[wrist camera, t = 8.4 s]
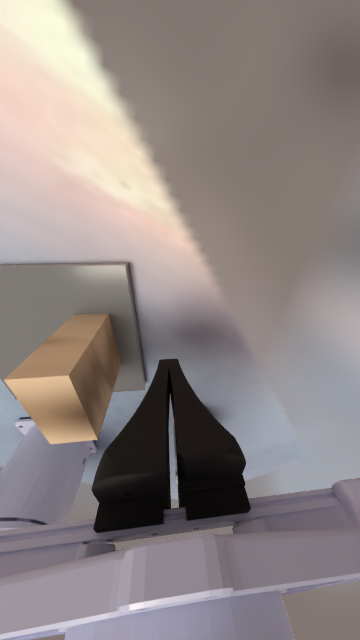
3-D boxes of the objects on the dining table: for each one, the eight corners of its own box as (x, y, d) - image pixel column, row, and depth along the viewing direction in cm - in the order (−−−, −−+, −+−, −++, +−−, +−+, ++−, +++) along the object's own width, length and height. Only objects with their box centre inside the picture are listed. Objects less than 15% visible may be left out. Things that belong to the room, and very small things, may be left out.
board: (145, 381, 20) (144, 389, 19) (24, 390, 19) (16, 399, 18) (128, 262, 14) (125, 265, 13) (-60, 265, 13) (-80, 269, 12)
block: (121, 365, 17) (97, 439, 11) (91, 367, 17) (50, 444, 11) (108, 313, 14) (68, 375, 8) (72, 314, 14) (3, 379, 8)
